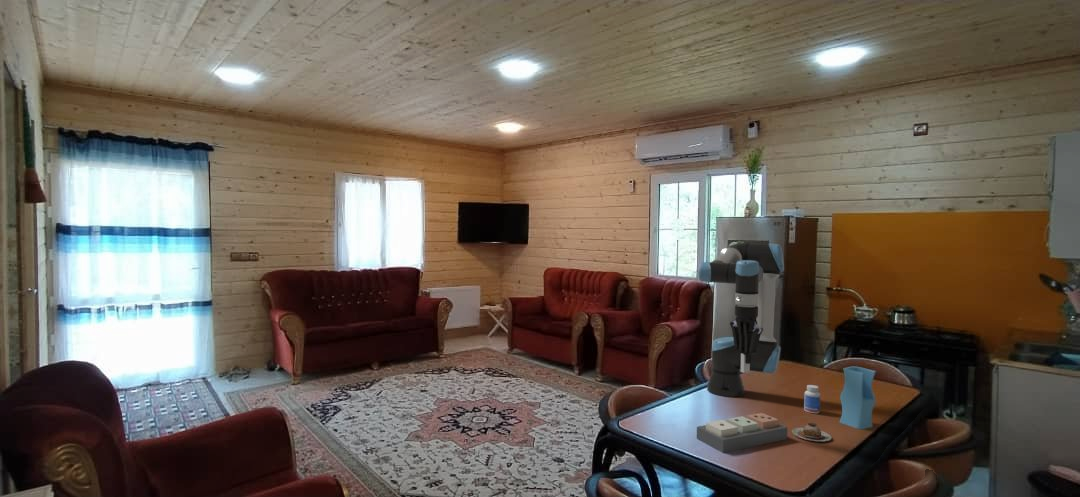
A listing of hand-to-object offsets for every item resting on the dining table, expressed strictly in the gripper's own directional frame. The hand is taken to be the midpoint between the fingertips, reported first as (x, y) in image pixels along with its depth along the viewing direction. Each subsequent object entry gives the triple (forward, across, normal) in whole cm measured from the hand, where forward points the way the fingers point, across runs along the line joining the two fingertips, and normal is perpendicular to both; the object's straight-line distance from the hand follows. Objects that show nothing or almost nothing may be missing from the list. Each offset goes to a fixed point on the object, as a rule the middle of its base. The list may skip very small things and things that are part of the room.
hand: (745, 371), depth 185 cm
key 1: (+17, +7, -17) cm, 26 cm away
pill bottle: (+22, -2, +38) cm, 43 cm away
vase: (+21, +14, +41) cm, 48 cm away
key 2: (+18, +7, -8) cm, 21 cm away
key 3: (+18, +7, +1) cm, 19 cm away
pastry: (+21, +15, +16) cm, 30 cm away
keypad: (+20, +7, -8) cm, 23 cm away
